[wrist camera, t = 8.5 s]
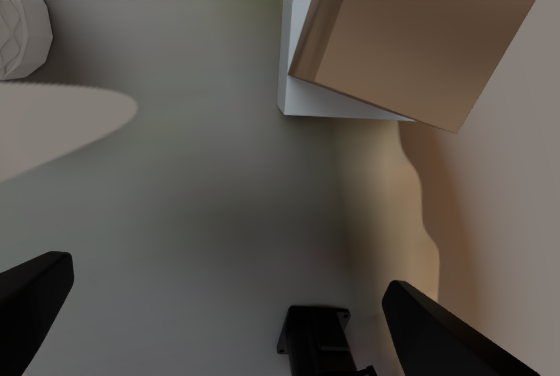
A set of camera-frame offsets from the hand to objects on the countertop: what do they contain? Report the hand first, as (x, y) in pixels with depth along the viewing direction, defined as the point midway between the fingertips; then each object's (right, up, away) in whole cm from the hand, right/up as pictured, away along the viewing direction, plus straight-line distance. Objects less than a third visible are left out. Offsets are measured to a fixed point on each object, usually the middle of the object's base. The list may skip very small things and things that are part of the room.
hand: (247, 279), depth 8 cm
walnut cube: (+5, +10, +6) cm, 13 cm away
